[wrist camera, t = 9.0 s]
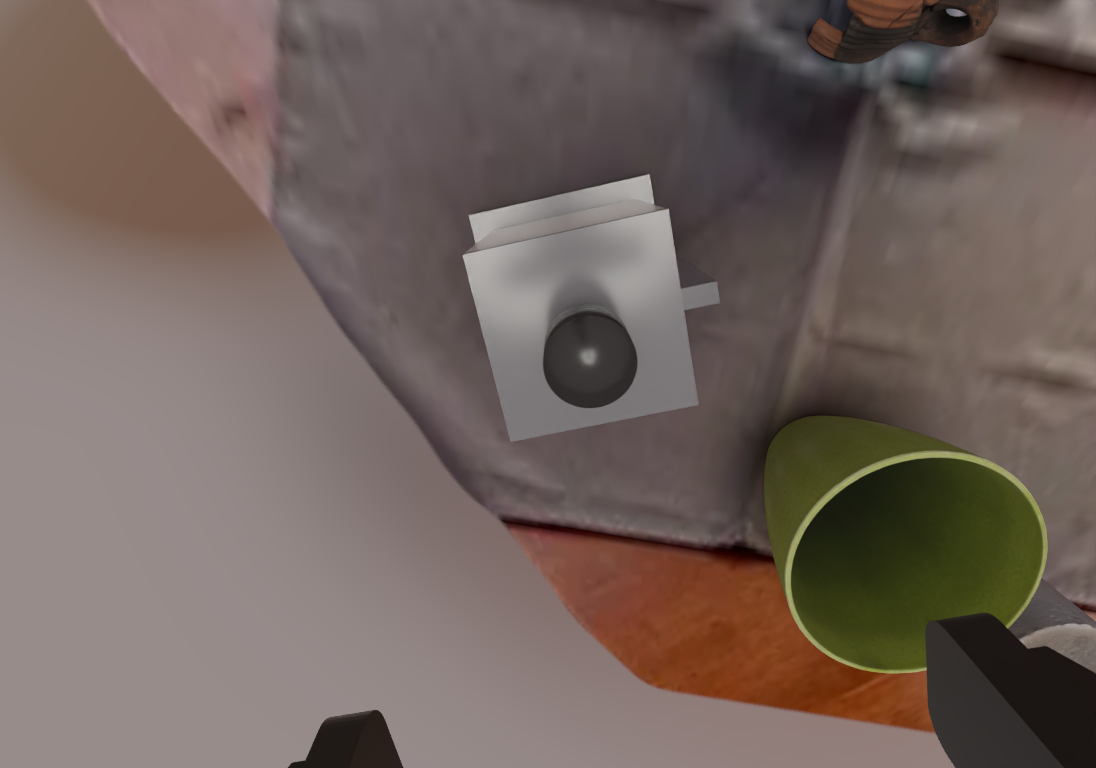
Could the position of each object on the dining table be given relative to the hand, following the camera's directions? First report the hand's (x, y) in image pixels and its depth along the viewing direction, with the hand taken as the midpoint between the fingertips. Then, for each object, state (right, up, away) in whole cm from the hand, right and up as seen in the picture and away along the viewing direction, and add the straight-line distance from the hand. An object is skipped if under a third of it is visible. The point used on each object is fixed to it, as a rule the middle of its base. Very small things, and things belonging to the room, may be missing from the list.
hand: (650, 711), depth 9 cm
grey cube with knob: (+1, +13, +38) cm, 40 cm away
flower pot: (+20, -1, +42) cm, 47 cm away
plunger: (+1, +11, +35) cm, 37 cm away
